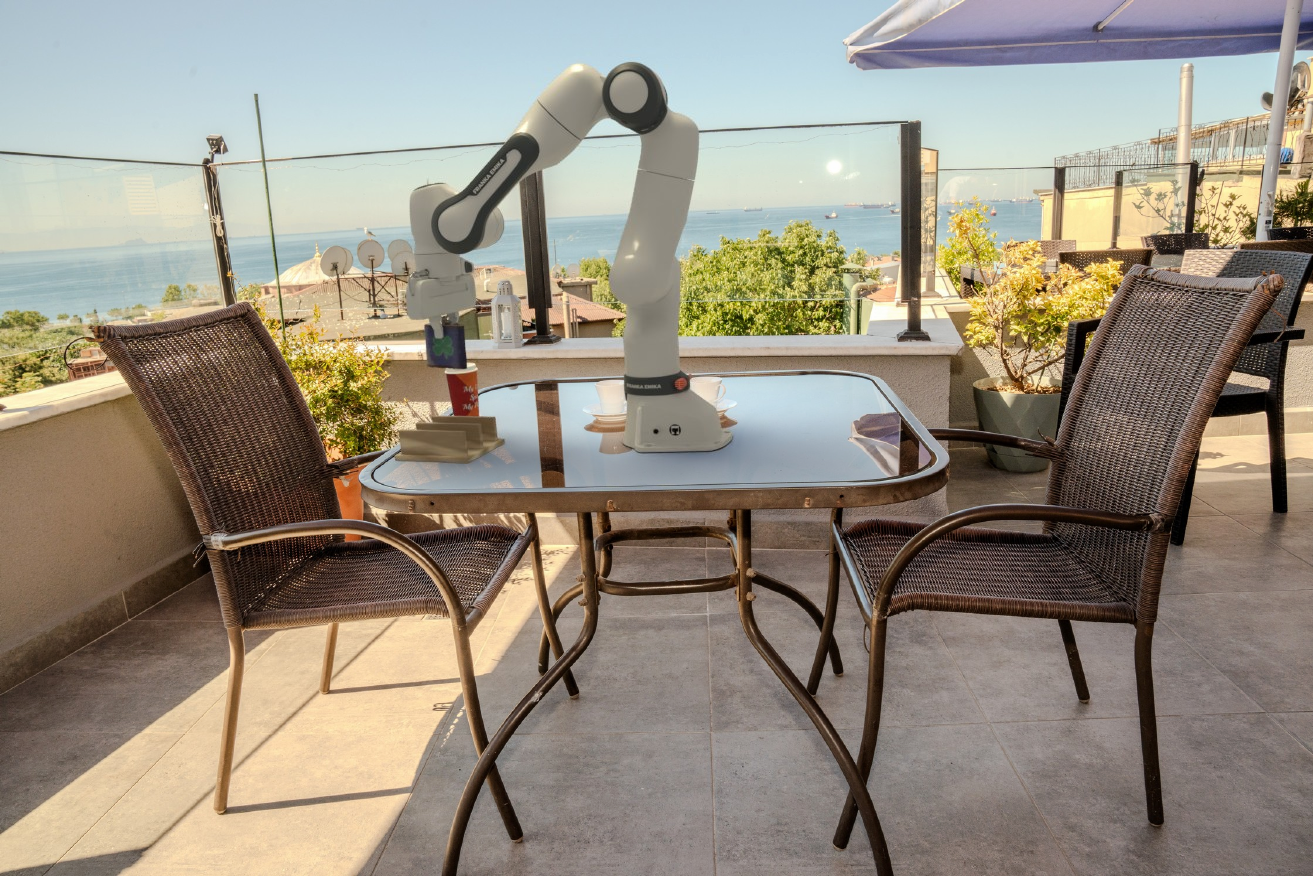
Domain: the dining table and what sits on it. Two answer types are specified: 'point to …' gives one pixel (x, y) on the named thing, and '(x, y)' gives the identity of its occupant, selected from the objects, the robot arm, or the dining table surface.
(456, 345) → the flask
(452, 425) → the rack
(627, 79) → the robot arm
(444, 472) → the dining table surface
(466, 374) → the paper cup
